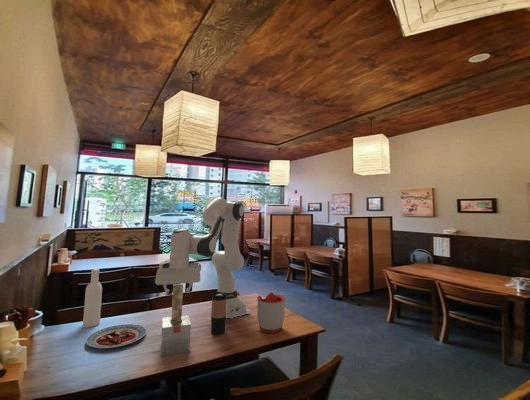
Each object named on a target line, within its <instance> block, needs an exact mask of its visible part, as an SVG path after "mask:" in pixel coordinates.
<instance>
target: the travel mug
mask: <svg viewBox="0 0 530 400" xmlns="http://www.w3.org/2000/svg"><path fill="white" fill-rule="evenodd" d="M211 297H212V298H211V313H210V316H211V317H210V333H211V335H213V336H221V335H224V334H225V333H226V319H227V318H226V293H221V292H217V291H216V292H213V293H212V295H211Z"/></svg>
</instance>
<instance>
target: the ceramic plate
mask: <svg viewBox="0 0 530 400" xmlns="http://www.w3.org/2000/svg"><path fill="white" fill-rule="evenodd" d="M146 334H147V329H146V327H145V326H142V325H139V324H132V323H131V324H130V323H128V324H117V325H112V326H108V327H105V328H101V329H98V330H97V331H95V332H92V334H90V335H89V336H88V337H87V338H86V341H85V342H86V345H87V346H89V347H91V348H94V349H113V348H119V347H122V346H127V345H130V344H134V343H135V342H137V341H139V340H141V339H142V338H144V336H145V335H146Z"/></svg>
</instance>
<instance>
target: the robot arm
mask: <svg viewBox="0 0 530 400" xmlns="http://www.w3.org/2000/svg"><path fill="white" fill-rule="evenodd" d="M244 214H245V206H244V204H243V203H242V202H238V201H237V202H235V201H227V200H226V199H225V198H224V197H219V196H218V197H216V198H214V199H213V200H212V201H211V202H210V203H209V204H208V205H207V206H206V207H205V209H204V211H203V212H202V218H203V221H204V223H205V225H207V226H208V227H211V228H210V230H209V232H208V233H207V234H206V235H196V234H193V233H191V232H190V229H188V228H178V229H175V230H173V231H172V233H171V236H170V237H171V238H170V249H169V250H170V254H169V259H167V260H163V261H161V262H160V263H159V265H158V267H159V268H158V269H157V271H156V274H155V275H156V276H155V283H154V284H155V285H156V286H162V287H163V289H164V292H165V295H170V289H168V288H167V286H168V285H173V284H189V286H188V287H187V288H186V289H185V290H186V293H187V294H188V293H191V288H192V287H193V285H194V283H200V281H201V271H202V264H201V263H199V262H190V255H194V256H202V257H206V258H207V257H210V256H211V263H212V264H213V266H214V268H215V271H216V276H217V290H216V292H221V293H226V319H227V318H230V319H234V318H233V317H235V318H238V317H237V316H240V317H242V316H241V315H245V314H249V313H250V309H249V308H247V305H246V302H245V301H244V300H243V298H242V299H241V297H239V296H240V295H241V292H239V291H238V290H236V278H235V276H234V274H233V271H239V270H242V268H243V266H244V263H245V260H244V257H243V255H242V253H241V251H240V246H239V238H240V237H239V236H240V229H241V227H240V226H241V225H240V221H241V219H242V218H243V216H244ZM220 235H221V240H220V241H221V244H222V245H223V248H224V250H217V251H216V247H217V243H218V240H219V237H220ZM250 314H251V313H250ZM250 314H249V315H250ZM245 316H246V315H245Z"/></svg>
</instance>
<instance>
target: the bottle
mask: <svg viewBox="0 0 530 400" xmlns="http://www.w3.org/2000/svg"><path fill="white" fill-rule="evenodd" d="M90 274H91V275H90V283H89V284H87V285H86V287H85V295H84V304H83V305H84V307H83V320H82V327H83V328H88V329H89V328H94V327H97V326H99V325H100V323H101V311H102V310H101V309H102V298H103V297H102V295H103V294H102V293H103V286H102V284H101V283H100V282H99V277H100V276H99V275H100V269H98V268H94V269H91V272H90Z"/></svg>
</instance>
